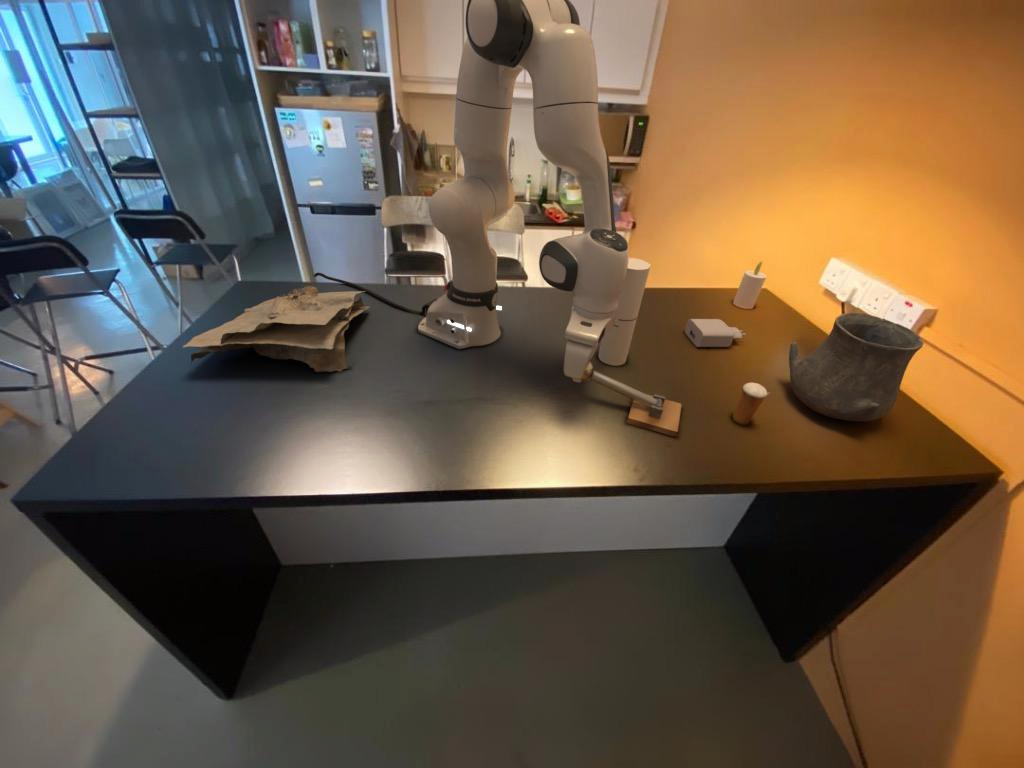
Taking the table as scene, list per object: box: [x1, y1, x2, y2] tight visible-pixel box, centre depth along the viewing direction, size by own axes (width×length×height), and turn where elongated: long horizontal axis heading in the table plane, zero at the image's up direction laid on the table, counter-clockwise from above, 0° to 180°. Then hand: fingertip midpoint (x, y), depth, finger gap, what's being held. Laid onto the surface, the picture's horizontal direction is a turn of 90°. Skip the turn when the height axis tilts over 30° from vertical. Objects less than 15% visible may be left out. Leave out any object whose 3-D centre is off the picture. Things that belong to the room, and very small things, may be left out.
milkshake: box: [732, 381, 776, 425], centre depth 89 cm, size 4×5×10 cm
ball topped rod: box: [581, 361, 663, 408], centre depth 91 cm, size 21×5×5 cm, turn 68°
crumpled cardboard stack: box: [182, 285, 370, 373], centre depth 105 cm, size 35×16×32 cm
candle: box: [732, 260, 767, 310], centre depth 136 cm, size 6×6×15 cm
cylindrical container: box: [597, 257, 651, 366], centre depth 102 cm, size 7×7×25 cm
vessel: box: [788, 312, 925, 422], centre depth 92 cm, size 22×22×20 cm
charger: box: [684, 318, 747, 348], centre depth 118 cm, size 5×9×15 cm
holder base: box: [626, 393, 682, 438], centre depth 90 cm, size 10×10×4 cm
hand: (581, 372), depth 93 cm, fingers closed on ball topped rod, 5 cm apart
